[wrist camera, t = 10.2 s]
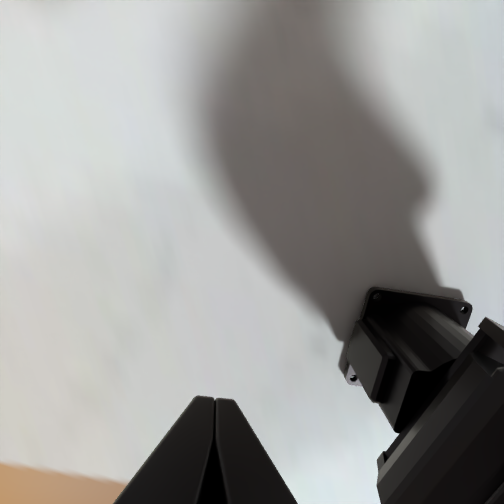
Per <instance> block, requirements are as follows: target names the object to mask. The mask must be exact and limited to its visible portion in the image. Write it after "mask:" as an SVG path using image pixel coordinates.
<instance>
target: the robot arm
mask: <svg viewBox="0 0 504 504" xmlns="http://www.w3.org/2000/svg"><path fill="white" fill-rule="evenodd" d="M378 293H379V296H378V297H377V298H376V299H373V296H374V295H375V294H378ZM462 307H464V309H463V310H462V311H460V309H461V308H462ZM472 309H473V308H472V305H471V304H470V303H468V302H467V301H465V300H461V299H454V298H447V297H440V296H434V295H427V294H420V293H414V292H407V291H400V290H393V289H387V288H380V287H373V288H371V289H369V290H368V292H367V294H366V298H365V301H364V305H363V308H362V312H361V316H360V318H359V319H358V320H357V321H356V322H355V326H354V330H353V333H352V337H351V340H350V344H349V347H348V351H347V355H346V357H347V359H348V362H347V365H346V369H345V373H344V377H345V379H346V381H347V383H348V384H350V385H355V386H363V388H364V390H365V392H366V393H367V395H368V397H369V399H370V400H371V401H372V402H373V403H378V404H379V406H380V407H381V409H382V411H383V413H384V414H385V416H386V418H387V419H388V421H389V423H390V425H391V426H392V428H393V430H394V431H395V432H396V433H400V434H399V435H398V437H397V438H396V439H395V440H394V442H393V443H392V444H391V446H390V447H389V448H388V450H387V451H383V452H382V453H381V455H380V456H379V457H378V459H377V466H378V479H377V489H378V493H379V497H380V502H381V504H504V326H502V325H500V324H498V323H496V322H494V321H493V320H491V319H489V318H487V317H485V318H484V319H483V321H482V322H481V323H480V325H479V326H478V327H479V328H480V329H479V330H478V332H477V333H476V334H475V336H473V335H472V334H471V333H470V332H468V331H467V330H466V326H467V324H468V321H469V318H470V315H471V313H472ZM352 375H355V377H353V378H350V377H351V376H352ZM113 504H298V503H297V502H296V500H295V498H294V497H293V495H292V493H291V492H290V490H289V488H288V487H287V485H286V484H285V482H284V480H283V479H282V477H281V475H280V474H279V472H278V470H277V469H276V467H275V465H274V464H273V462H272V461H271V459H270V457H269V456H268V454H267V452H266V451H265V449H264V447H263V446H262V444H261V442H260V441H259V439H258V438H257V436H256V434H255V433H254V431H253V429H252V428H251V426H250V424H249V423H248V421H247V419H246V418H245V416H244V415H243V413H242V411H241V410H240V408H239V406H238V405H237V403H236V402H235V401H234V400H233V399H226V398H216V400H214V398H213V397H207V396H195V397H194V398H193V400H192V401H191V402H190V404H189V405H188V406H187V408H186V409H185V410H184V412H183V413H182V414H181V415H180V417H179V418H178V419H177V421H176V422H175V423H174V425H173V426H172V427H171V429H170V430H169V431H168V432H167V434H166V435H165V436H164V438H163V439H162V440H161V442H160V443H159V444H158V445H157V447H156V448H155V449H154V451H153V452H152V453H151V455H150V456H149V457H148V459H147V460H146V461H145V462H144V464H143V465H142V466H141V468H140V469H139V470H138V472H137V473H136V474H135V475H134V477H133V478H132V479H131V481H130V482H129V483H128V485H127V486H126V487H125V489H124V490H123V491H122V492H121V494H120V495H119V496H118V498H117V499H116V500H115V502H114V503H113Z"/></svg>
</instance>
